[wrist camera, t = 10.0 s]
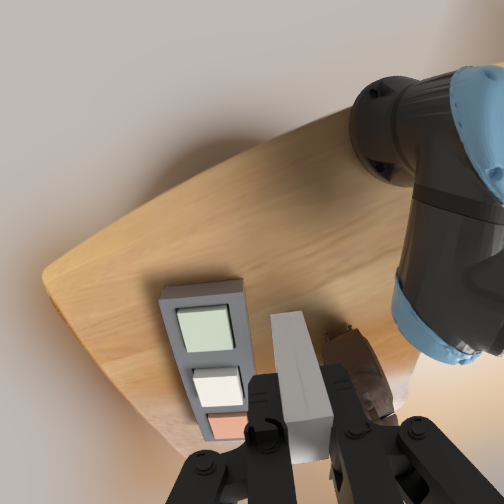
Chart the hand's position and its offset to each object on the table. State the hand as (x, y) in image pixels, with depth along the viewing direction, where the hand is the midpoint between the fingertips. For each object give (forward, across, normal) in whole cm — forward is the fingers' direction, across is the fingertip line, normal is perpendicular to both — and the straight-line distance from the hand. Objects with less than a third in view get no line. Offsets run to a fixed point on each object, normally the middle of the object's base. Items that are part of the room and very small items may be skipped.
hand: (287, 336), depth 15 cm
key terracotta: (+25, -9, -34) cm, 43 cm away
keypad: (+26, -9, -24) cm, 37 cm away
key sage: (+25, -9, -13) cm, 29 cm away
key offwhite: (+24, -9, -24) cm, 35 cm away
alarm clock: (+27, +11, -23) cm, 37 cm away
